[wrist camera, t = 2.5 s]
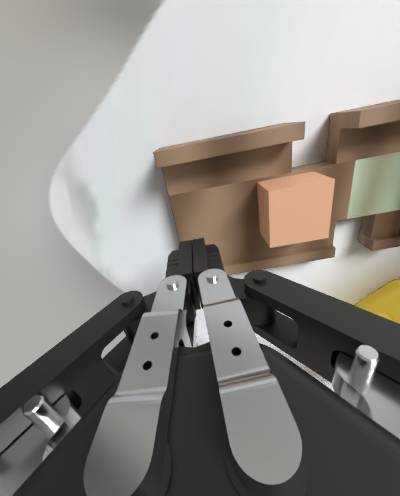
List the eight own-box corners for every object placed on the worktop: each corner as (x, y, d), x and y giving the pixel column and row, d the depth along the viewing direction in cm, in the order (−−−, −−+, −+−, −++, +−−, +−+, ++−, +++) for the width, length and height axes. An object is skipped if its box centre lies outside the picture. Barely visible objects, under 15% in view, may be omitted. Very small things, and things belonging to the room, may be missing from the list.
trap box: (431, 93, 17) (486, 85, 14) (393, 235, 22) (425, 252, 19) (159, 148, 18) (153, 152, 15) (189, 269, 23) (189, 291, 20)
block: (313, 171, 18) (335, 179, 15) (310, 223, 20) (328, 237, 17) (257, 182, 18) (268, 191, 15) (259, 232, 20) (270, 248, 17)
